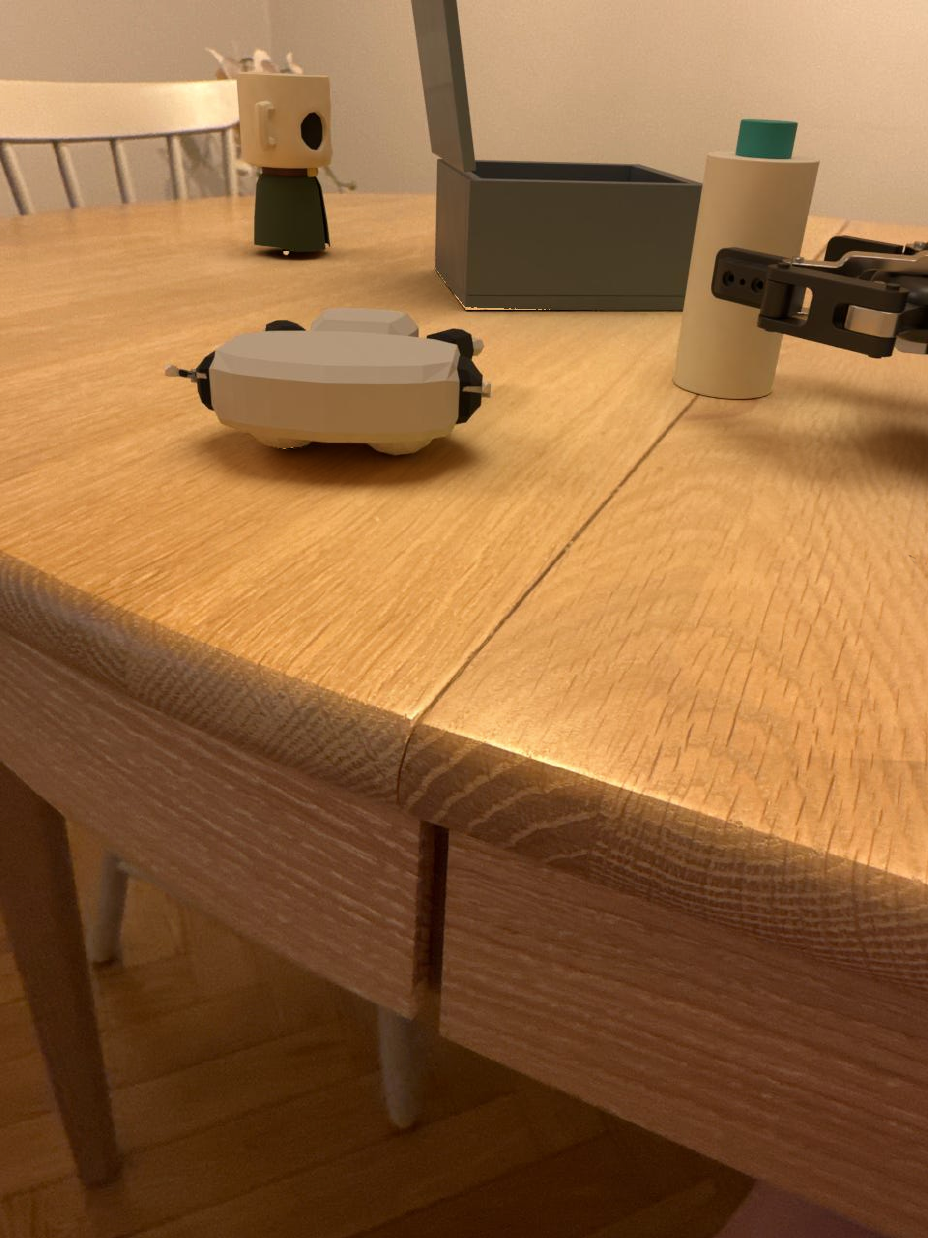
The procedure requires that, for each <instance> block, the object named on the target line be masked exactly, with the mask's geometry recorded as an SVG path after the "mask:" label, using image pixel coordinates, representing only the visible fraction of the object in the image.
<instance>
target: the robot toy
mask: <svg viewBox="0 0 928 1238" xmlns="http://www.w3.org/2000/svg"><path fill="white" fill-rule="evenodd" d="M419 330H420V327H419V326H418V325H417V323H416V322H415V321H414V319H413V318H412V317H411V316H410V315H409V313H408V312H405V311H404V312H403V311H398V310H393V309H384V308H367V307H334V308H325V309H324V310H323V311H322V312H321V313H320V314H319V315H318V316H317V317H316V318H315V319H314V320H313V321H312V322H311V325H310V328H309V330H307V329H306V328H305V327H303V326H302V325H300V324H299V323H297V322H294V321H291V320H288V319H275V320H273V321H271V322H268V323H266V324H265V328H264V327H263V328H262V330H261V331H256V332H246V333H244V332H243V333H237V335H235V336H233V337H232V338H230V339H228V341H226V342H225V343H223V344H222V345H220V346H218V347H217V348H215V349H214V350H213V351H211V352H210V353H209V354H207V355H206V356H204V357H203V358H202V361H201V362H199V364H198V366H197V367H196V368H190V370H188V369H184V368H179V367H178V368H177V365H169V364H164V376H165V377H169V378H177V377H179V378H182V379H183V378H184V379H189V380H190V383H193V384H196V386H197V388H196V389H197V393H198V397H199V399H200V401H201V403H202V404H203V405H204V406H205V407H206V408H207V409H208V410H209V411H212V412H214V413H215V415H216V417H217V419H218V421H219V423H220V424H221V425H223V426H226V427H227V428H231V429H233V430H235V431H237V432H240V433H245V434H249V435H250V436H251V437H252V438H255V439H256V440H257V441H258V442H260V443H261V444H263V445H265V446H267V445H269V446H268V447H271V446H274V447H273V448H275V447H279V448H291V447H300V448H303V447H302V446H304V445H306V446H308V445H309V444H311V443H312V442H317V443H329V444H330V443H333V444H335V443H336V444H337V443H338V444H344V443H345V444H356V443H357V444H366V445H368V446H370V447H372V448H373V449H374V450H375V451H377V452H380V453H384V454H388V455H392V456H402V455H408V454H414V453H415V454H416V453H417V452H418V451H419V450H421V449H423V448H425V447H427V446H428V445H430V444H432V442H433V440H434V439H440V438H444V437H449V436H451V435H452V433H453V430H454V428H455V426H456V425H462V424H466V423H467V422H468V421H469V420H470V418H471V417H472V416H473V415H474V413H476V411H477V410H478V409H480V407H481V406H482V398H483V399H491V397H492V396H491V395H492V394H491V393H492V383H491V381H489V380H488V381H487V380H483V379H484V375H483V374H482V372H481V371H480V370H479V368H478V367H477V366H476V364H475V362H473V357H478V356H479V355H480V354H481V353H482V352H483V350H484V348H485V345H484V341H483V339H482V338H477V337H473V336H472V334H471V333H470V332H468V331H466V330H464V329H462V328H454V327H452V328H448V329H445V330H442V331H437V332H434V333H431V334H428V335H426V337H420V335H419V333H420V332H419ZM304 447H305V446H304ZM279 448H278V449H279ZM401 454H402V455H401Z"/></svg>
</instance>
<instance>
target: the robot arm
mask: <svg viewBox="0 0 928 1238" xmlns="http://www.w3.org/2000/svg"><path fill="white" fill-rule="evenodd" d="M807 288H808V289H809V290H810V291H811V300H810V304H809V307H805V306H804V303H805V299H806V293H807ZM711 292H712V294H713V296H714V297H716V298H718V299H722V300H726V301H730V302H734V303H737V304H741V305H745V306H749V307H753V308H757V309H760V314H759V316H758V321H757V327H759V328H762V329H765V331H768V332H777V333H781V334H783V335H786V336H788V337H792V338H793V337H794V338H798V339H802V340H806V341H810V342H813V343H818V344H821V345H826V346H830V347H833V348H838V349H842V350H846V351H849V352H855V353H857V354H861V355H865V356H867V357H869V358H871V359H877V360H879V359H882V358H890V357H892V356H893V353H894V350H895V349H896V350H897V351H898V352H900V353H905V354H913V355H914V354H915V355H925V356H927V355H928V241H926V242H925V241H914V242H913V243H906V244H905V245H903V244H898V243H891V242H886V241H880V240H879V241H878V240H876V239H868V238H863V237H858V236H853V235H847V234H843V235H835V236H833V237H831V238H830V239H829V240H828V241H827V245H826V249H825V253H824V258H823V260H815V259H805V257H803V256H800V257H799V256H793V257H792V259H791V258H786V257H781V256H777V255H772V254H767V253H762V252H757V251H752V250H747V249H742V248H738V247H730V248H723V249H721V250H719V252H718V253H717V255H716V259H715V265H714V271H713V277H712V283H711Z"/></svg>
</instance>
